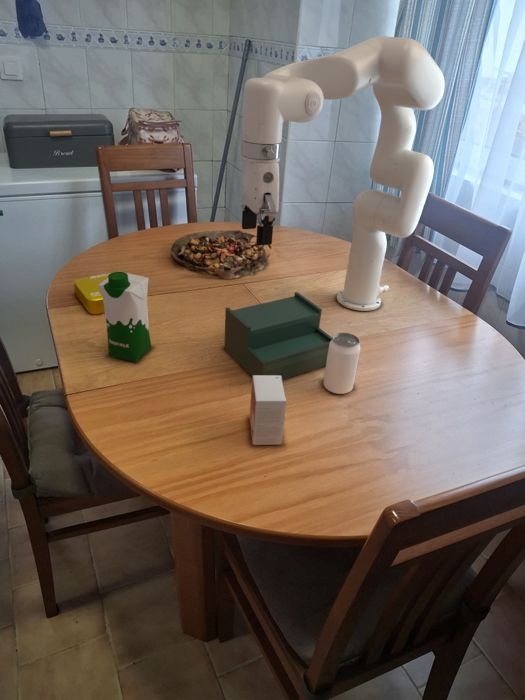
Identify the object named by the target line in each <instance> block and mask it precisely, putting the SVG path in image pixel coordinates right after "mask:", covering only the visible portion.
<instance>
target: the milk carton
mask: <svg viewBox="0 0 525 700" xmlns="http://www.w3.org/2000/svg"><path fill="white" fill-rule="evenodd" d="M112 272H113V273H110V272H109V273H110V274H109V275H108V278H107V279H106V280H104V281H103V282H101V283H100V284H99V288H100V291H101V294H102V297H103V302H104V310H105V313H104V318H105V325H106V326H105V327H106V335H107V348H108V356H109V357H113V358H117V359H121V360H124V361H127V362H131V363H137V362H138V361H139V360H140V359H141V358H142V357H143V356H144V355H145V354H147V352H149V350H150V349H152V342H151V336H150V335H151V334H150V323H149V308H148V290H149V289H148V288H149V280H150V279H149V277H147V276H142V275H137V274H134V273H129V272H127V273H124V272H116V271H112Z"/></svg>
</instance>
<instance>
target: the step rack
mask: <svg viewBox="0 0 525 700" xmlns="http://www.w3.org/2000/svg"><path fill="white" fill-rule="evenodd" d="M224 313H225V314H224V315H225V316H224V347H223V348H224V350H225V351H226V352H227V353H228V354H229V355H230V356H231V357H232V358H233V359H234V361H236V362H237V363H238V364H239V365H240V366H241V368H242V369H244V370H245V372H247V373H248V374H249V376H250V377H252V376H253V375H276V376H282V381H284V380H288V379H290V378H293V377H296V376H299V375H302V374H305V373H309V372H312V371H315V370H318V369H321V368H324V367H326V362H327V356H328V350H329V344H330V342H331V340H332V337H333V336H331V335H330V334H328V333H327V332H325V330H323V329H322V328H320V326H321V325H320V324H321V318H322V317H321V316H322V308H321V307H320V306H318V305H317V304H315V303H314V302H312V301H311V300H309V299H308V298H306V296H304V295H302V294H301V293H299V292H298V291H296V292H294V296H289V297H284V298H280V299H276V300H271V301H267V302H263V303H258V304H254V305H249V306H245V307H241V308H236V309H231V308H230V307H225V311H224Z"/></svg>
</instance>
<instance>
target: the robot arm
mask: <svg viewBox="0 0 525 700" xmlns="http://www.w3.org/2000/svg"><path fill="white" fill-rule="evenodd" d="M369 87H372V90H373V95H374V97H375V99H376V101H377V103H378V107H379V109H380V115H381V125H380V130H379V134H378V138H377V140H376V145H375V149H374V152H373V155H372V159H371V163H370V167H369V177H370V179H371V180H372V182H373V183H376V184H377V185H380V186H383V187H386V188H389V189H393V190H396V191H400V192H401V193H400V196H399V195H397V194H396V195H395V194H393V193H390V192H386V191H382V190H379V189H371V188H370V189H365V190H363V191H361V192H360V193H358V194H357V196H356V197H355V199H354V202H353V205H352V235H351V242H350V248H349V255H348V262H347V266H346V267H347V268H346V274H345V280H344V284H343V285H344V287H343V289H341V290H340V291H338V293H337V295H336V300H337V302H338V303H339V304H340V305H341V306H343V307H345V308H348V309H351V310H352V311H353V310H355V311H360V312H368V311H369V312H370V311H374V310H377V309H379V308H380V307H381V304H382V299H381V297H380V295H381V294H382V293H386V292H389V290H390V287H389V285H388V284H385V285H381V286H380V282H381V277H382V270H383V266H384V263H385V256H386V252H387V236H386V234H387V235H390V236H393V237H395V238H401V239H403V238H408V237H410V236H411V235H412V234H413V232H414V231H415V230H416V228H417V227H418V224H419V221H420V219H421V215H422V213H423V209H424V206H425V204H426V200H427V197H428V194H429V191H430V188H431V185H432V182H433V178H434V171H435V169H434V161H433V160H432V158H431V157H430V156H429V155H427V154H426V153H423V152H418V151H415V150H412V148H413V143H414V140H415V136H416V133H417V119H416V115H415V112H414V110H417V111H429V110H432V109H434V108H436V106H438V104H439V103H440V102H441V101H442V99H443V96H444V92H445V87H446V82H445V76H444V73H443V72H442V70H441V68H440V67H439V65H438V64H437V62H436V61H435V60H434V58H433V57H432V55H430V53H429V51H428V50H427V49H426V48H425V47H424V46H423V45H422V44H421V43H420V42H419V41H418V40H416V39H414V38H410V37H397V36H387V35H386V36H384V35H383V36H382V35H378V36H377V35H376V36H373V37H370V38H368V39H365V40H363V41H361V42H359V43H356V44H354V45H352V46H350V47H348V48H345V49H343V50H340V51H338V52H335V53H332V54H326V55H322V56H318V57H314V58H309V59H304V60H300V61H296V62H292V63H289V64H286V65H283V66H281V67H278V68H276V69H274V70H272V71H269V72H267V73H266V74H265V75H264V76H262V77H251V78H249V79H247V80H246V81H245V84H244V90H243V106H242V133H241V134H242V136H241V137H242V138H241V159H242V160H243V161H244V162H243V170H242V171H243V172H242V183H241V196H242V197H241V198H242V206H241V209H242V210H241V211H242V212H241V213H242V214H241V228H242V229H243V230H256V236H257V237H255V239H256V240H255V243H256V244H257V245H258V246H259V245H260V246H263V245H264V246H268V245H271V246H272V243H273V234H274V233H273V231H274V226H275V220H276V214H277V213H278V212H279V207H280V206H279V203H280V166H279V165H280V164H279V162H280V161H281V151H282V141H283V140H282V139H283V138H282V137H283V128H284V123H285V122H293V123H297V124H298V123H302V124H304V123H308V122H311V121H313V120H314V119H316V118H317V117H318V116H319V115H320V113H321V111H322V109H323V107H324V103H325V102H324V100H340V99H346V98H349V97H352V96H354V95H356V94H358V93H359V92H362V91H363V90H365V89H368V88H369ZM263 216H264V217H263ZM257 222H258V223H257Z"/></svg>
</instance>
